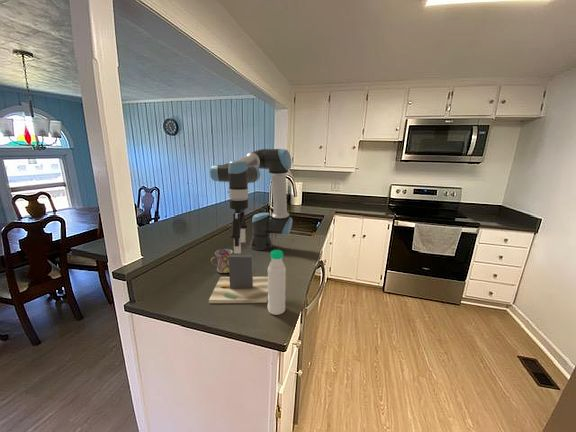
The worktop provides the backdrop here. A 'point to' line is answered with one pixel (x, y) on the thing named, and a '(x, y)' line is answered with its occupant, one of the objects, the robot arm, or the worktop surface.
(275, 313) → the water bottle
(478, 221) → the worktop surface
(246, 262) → the gray square slab
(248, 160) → the robot arm
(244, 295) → the beige flat board
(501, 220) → the worktop surface
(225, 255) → the mug
